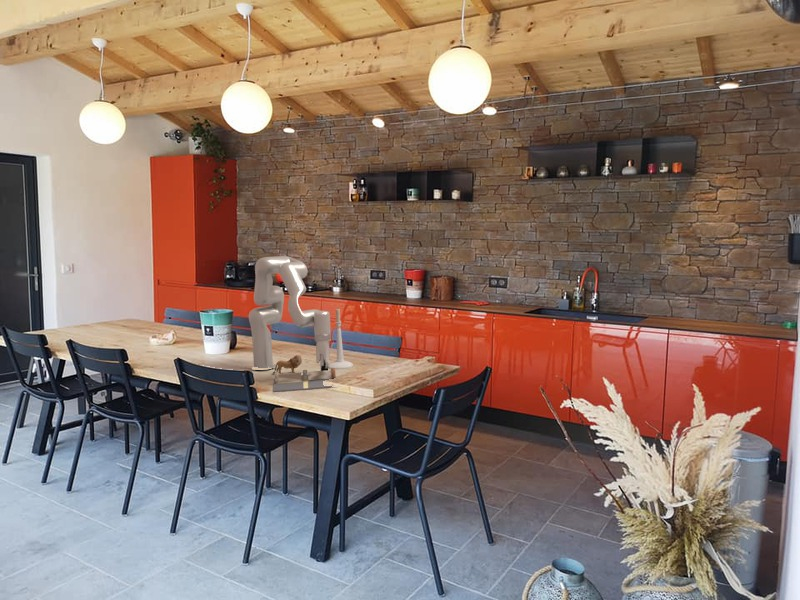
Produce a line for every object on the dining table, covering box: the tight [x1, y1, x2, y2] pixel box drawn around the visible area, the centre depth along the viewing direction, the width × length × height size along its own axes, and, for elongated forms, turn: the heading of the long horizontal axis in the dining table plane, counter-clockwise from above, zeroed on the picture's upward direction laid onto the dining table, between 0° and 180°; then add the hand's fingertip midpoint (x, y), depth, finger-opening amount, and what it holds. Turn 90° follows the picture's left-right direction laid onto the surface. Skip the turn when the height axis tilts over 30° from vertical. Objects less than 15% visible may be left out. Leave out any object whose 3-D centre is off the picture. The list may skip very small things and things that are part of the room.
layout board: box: [272, 374, 332, 393], centre depth 266 cm, size 26×28×1 cm
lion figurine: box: [272, 354, 303, 374], centre depth 285 cm, size 15×5×9 cm, turn 95°
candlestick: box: [327, 308, 354, 370], centre depth 296 cm, size 13×13×30 cm
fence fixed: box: [273, 369, 308, 383], centre depth 265 cm, size 2×15×5 cm, turn 100°
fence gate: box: [307, 368, 337, 380], centre depth 268 cm, size 12×2×5 cm, turn 99°
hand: (324, 376), depth 271 cm, fingers closed
